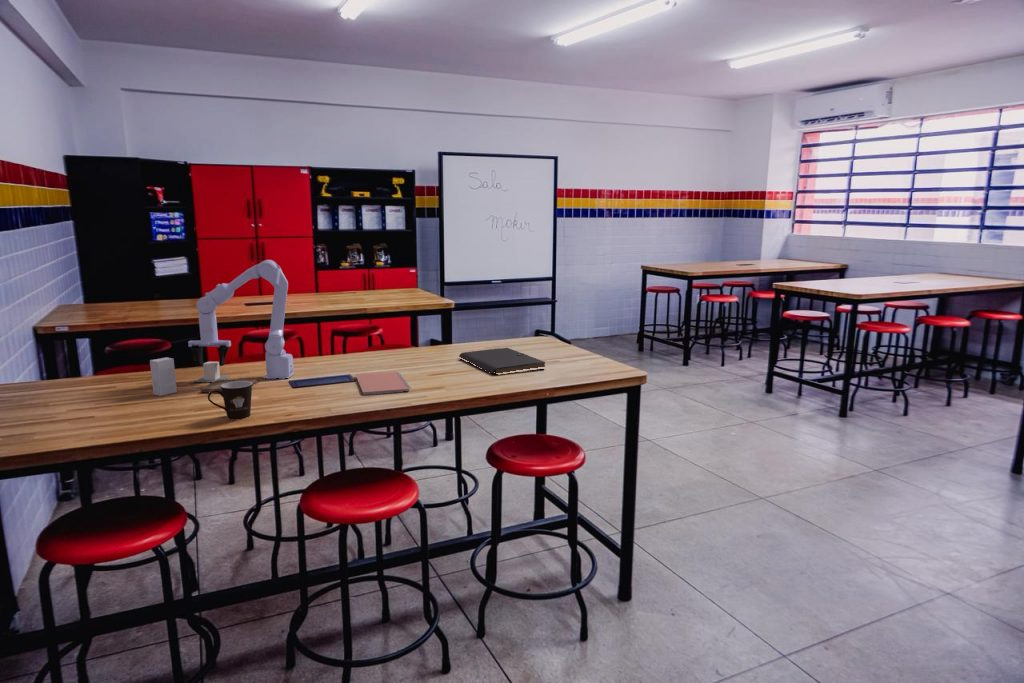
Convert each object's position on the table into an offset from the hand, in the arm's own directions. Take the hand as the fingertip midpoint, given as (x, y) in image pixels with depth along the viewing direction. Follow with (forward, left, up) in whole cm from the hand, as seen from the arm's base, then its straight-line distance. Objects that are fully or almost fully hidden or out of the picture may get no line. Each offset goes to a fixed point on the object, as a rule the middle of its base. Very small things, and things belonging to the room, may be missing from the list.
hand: (211, 365), depth 231 cm
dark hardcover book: (-108, -27, -6) cm, 112 cm away
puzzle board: (-11, +12, -5) cm, 17 cm away
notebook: (-64, +6, -6) cm, 64 cm away
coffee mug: (-25, +45, -6) cm, 52 cm away
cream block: (0, 0, -5) cm, 5 cm away
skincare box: (+8, +19, -6) cm, 21 cm away
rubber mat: (0, 0, -5) cm, 5 cm away
